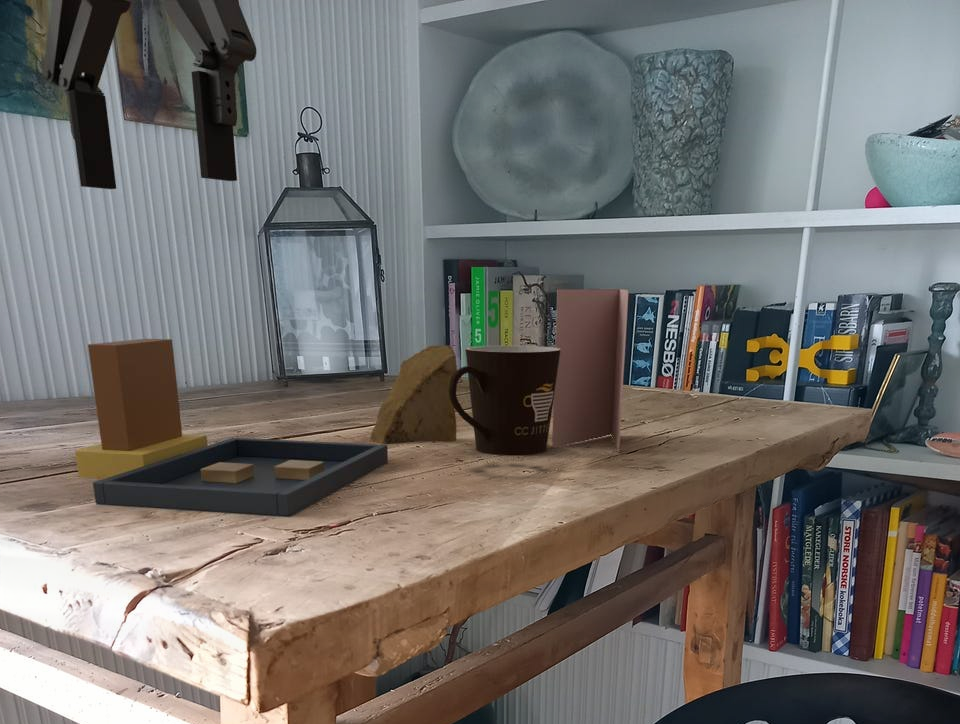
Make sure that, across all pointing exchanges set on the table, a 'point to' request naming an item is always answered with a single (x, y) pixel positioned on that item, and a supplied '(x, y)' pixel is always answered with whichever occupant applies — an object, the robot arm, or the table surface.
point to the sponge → (134, 408)
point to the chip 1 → (227, 472)
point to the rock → (420, 400)
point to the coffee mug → (509, 397)
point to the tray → (258, 495)
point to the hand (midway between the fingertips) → (156, 184)
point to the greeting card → (589, 364)
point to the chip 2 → (298, 469)
